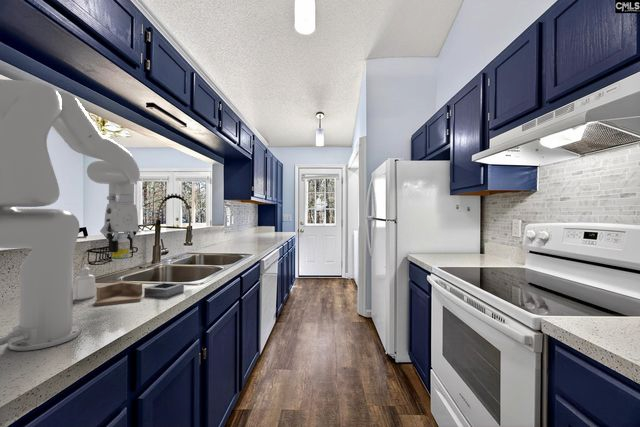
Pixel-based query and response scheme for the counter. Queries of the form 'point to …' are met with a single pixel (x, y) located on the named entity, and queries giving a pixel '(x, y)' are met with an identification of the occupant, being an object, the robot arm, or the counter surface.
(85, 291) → the eye dropper bottle
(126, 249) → the supplement bottle
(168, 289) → the socket block
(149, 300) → the counter surface
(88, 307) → the counter surface
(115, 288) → the v block
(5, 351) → the counter surface
